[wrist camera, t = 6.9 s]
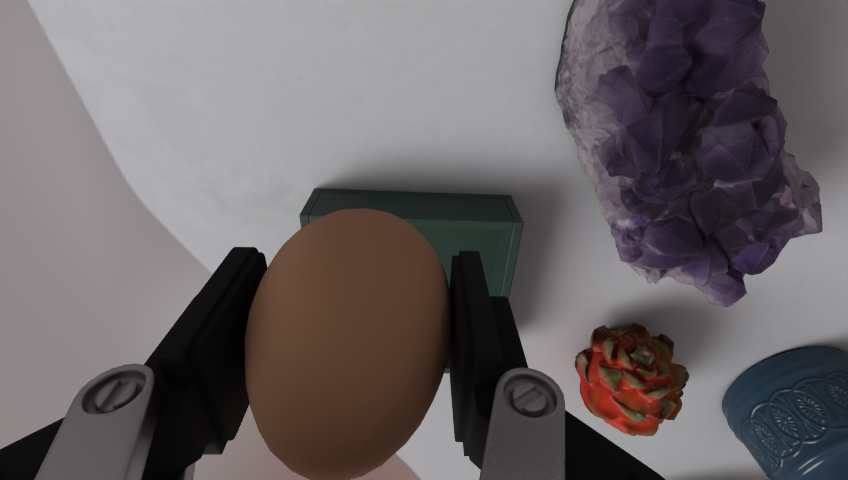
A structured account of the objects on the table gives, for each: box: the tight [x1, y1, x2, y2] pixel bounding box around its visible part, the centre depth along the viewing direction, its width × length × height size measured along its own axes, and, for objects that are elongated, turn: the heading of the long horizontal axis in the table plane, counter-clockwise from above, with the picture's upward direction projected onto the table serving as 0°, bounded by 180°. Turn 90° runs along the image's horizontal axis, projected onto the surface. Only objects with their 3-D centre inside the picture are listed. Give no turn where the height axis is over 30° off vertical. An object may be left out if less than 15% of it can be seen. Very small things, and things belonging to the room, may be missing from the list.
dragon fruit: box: [575, 323, 689, 436], centre depth 34 cm, size 8×8×12 cm
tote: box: [300, 189, 523, 373], centre depth 31 cm, size 14×14×4 cm
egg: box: [245, 208, 453, 480], centre depth 11 cm, size 5×5×8 cm
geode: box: [555, 0, 822, 307], centre depth 23 cm, size 20×12×10 cm, turn 37°
